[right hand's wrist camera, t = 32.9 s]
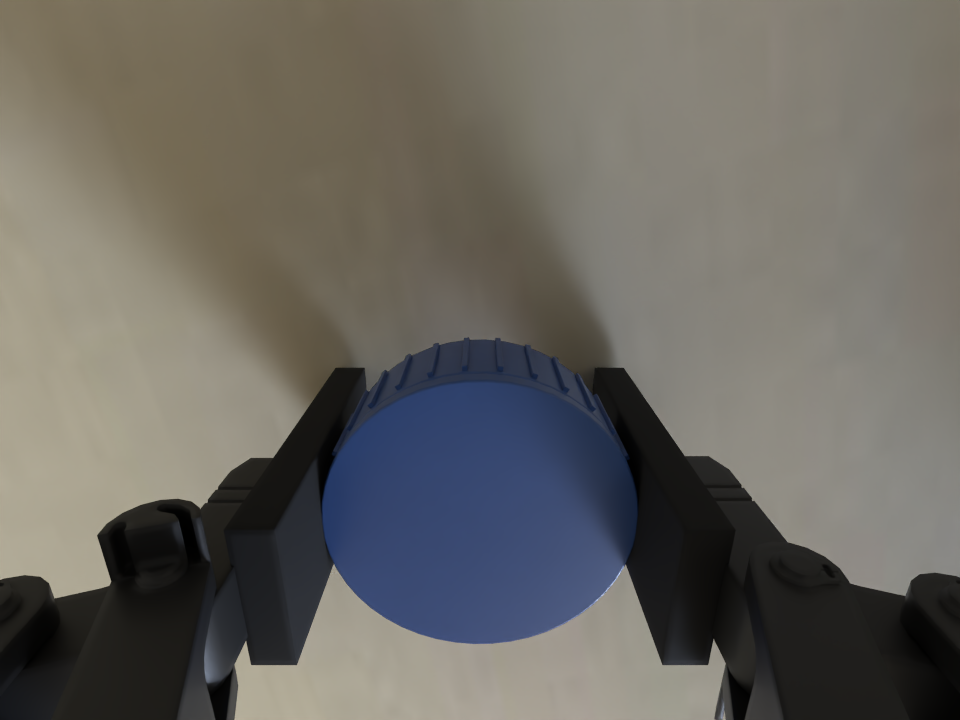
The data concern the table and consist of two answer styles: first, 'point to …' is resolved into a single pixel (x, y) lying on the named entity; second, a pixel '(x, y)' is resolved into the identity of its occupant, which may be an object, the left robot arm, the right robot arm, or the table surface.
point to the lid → (479, 494)
